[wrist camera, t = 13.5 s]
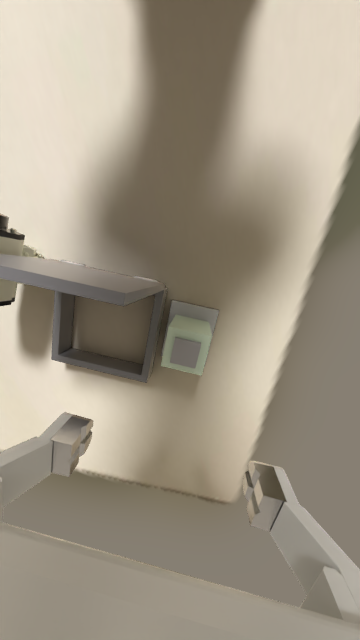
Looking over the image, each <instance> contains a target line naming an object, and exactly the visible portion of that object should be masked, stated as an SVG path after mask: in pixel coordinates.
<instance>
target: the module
mask: <svg viewBox="0 0 360 640" xmlns="http://www.w3.org/2000/svg"><path fill="white" fill-rule="evenodd" d="M211 339H212V334H211V329H210V324H209V322H207V321H203V320H198V319H194V318H190V317H185V316H181V315H175V317H174V318H173V320H172V322H171V323H170V325H169V327H168V332H167V337H166V342H165V347H164V352H163V357H162V362H161V366H163V367H167V368H171V369H175V370H179V371H184V372H188V373H192V374H196V375H200V376H202V373H203V369H204V365H205V362H206V358H207V354H208V350H209V346H210V343H211Z"/></svg>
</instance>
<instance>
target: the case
mask: <svg viewBox="0 0 360 640" xmlns="http://www.w3.org/2000/svg"><path fill="white" fill-rule="evenodd" d="M0 278H1V279H6V280H10V281H14V282H19V283H23V284H28V285H32V286H37V287H41V288H45V289H50V290H54V291H55V299H54V319H53V339H52V359H51V360H55V361H59V362H63V363H67V364H71V365H76V366H80V367H84V368H88V369H92V370H96V371H100V372H104V373H108V374H112V375H117V376H121V377H125V378H129V379H133V380H137V381H141V382H145V383H147V381H148V379H149V377H150V375H151V373H152V368H153V363H154V358H155V353H156V347H157V342H158V337H159V332H160V326H161V321H162V316H163V311H164V305H165V300H166V295H167V290H168V288H165V284H164V283H159V282H158V281H157V280H152V279H148V278H143V277H139V276H135V277H132V276H127V275H123V274H118V273H114V272H109V271H105V270H100V269H95V268H91V267H86V265H84V264H79V263H75V262H70V261H65V260H61V261H59V260H52V259H43V258H33V257H24V256H15V255H6V254H0ZM75 295H76V296H81V297H85V298H90V299H94V300H98V301H103V302H107V303H112V304H116V305H120V306H125V305H128V304H130V303H133V302H135V301H138V300H140V299H143V298H145V297H148V296H150V295H155V301H154V307H153V312H152V318H151V323H150V329H149V335H148V340H147V346H146V352H145V357H144V363H143V365H140V364H136V363H132V362H127V361H123V360H119V359H115V358H111V357H107V356H102V355H98V354H94V353H90V352H86V351H82V350H77V349H73V348H71V339H72V326H73V313H74V300H75Z"/></svg>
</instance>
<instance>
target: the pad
mask: <svg viewBox="0 0 360 640" xmlns="http://www.w3.org/2000/svg"><path fill="white" fill-rule="evenodd" d="M218 313H219V310H216V309H211V308H207V307H202V306H198V305H193V304H189V303H184V302H180V301H175V300H172V303H171V308H170V313H169V318H168V323H167V328H166V333H165V338H164V343H163V348H162V353H161V356H163V352H164V347H165V342H166V337H167V332H168V327H169V325H170V323H171V322H172V320H173V318H174V317H175V315H181V316H185V317H190V318H194V319H198V320H203V321H207V322H209V324H210V329H211V334H212V336H213V333H214V329H215V325H216V321H217V317H218ZM211 340H212V339H211ZM210 344H211V343H210ZM209 348H210V346H209ZM208 352H209V350H208ZM207 355H208V354H207ZM206 359H207V358H206ZM205 363H206V362H205ZM204 366H205V365H204Z"/></svg>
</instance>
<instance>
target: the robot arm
mask: <svg viewBox="0 0 360 640" xmlns="http://www.w3.org/2000/svg"><path fill="white" fill-rule="evenodd" d="M92 427H93V420H91V419H88V418H84V417H81V416H77V415H73V414H70V413H66V412H65V413H63V414H61V415H60V416H59V417H58V418H57V419H56V420H55V421H54V422H53V423H52V424H51V425H50V426H49V427H48V428H47V429H46V430H45V431H44V433H43V434H42V435H41V436H40V437H34V438H31V439H29V440H27V441H25V442H22V443H20V444H18V445H16V446H13V447H11V448H9V449H7V450H4V451H2V452H0V640H360V570H359V568H358V567H357V566H356V565H355V564H354V563H353V562H352V561H351V560H350V558H349V557H348V556H347V555H346V554H345V553H344V552H343V551H342V550H341V548H340V547H339V546H338V545H337V544H336V543H335V542H334V541H333V539H332V538H331V537H329V535H328V534H327V533H326V532H325V531H324V529H323V528H322V527H321V526H320V525H319V524H318V523H317V522H316V521H315V520H314V518H313V517H312V516H311V515H310V514H309V513H308V512H307V511H306V510H305V508H304V507H302V506H300V505H299V503H298V500H297V498H296V496H295V494H294V491H293V489H292V487H291V485H290V482H289V480H288V478H287V475H286V473H285V471H284V469H283V468H281V467H277V466H273V465H269V464H265V463H261V462H257V461H253V460H251V461H250V462H249V464H248V469H249V471H247V472H245V475H244V478H243V492H244V496H245V498H246V500H247V501H248V506H247V512H248V517H249V522H250V526H253V527H256V528H259V529H262V530H266V531H269V532H270V534H271V536H272V538H273V540H274V541H275V543H276V545H277V546H278V548H279V550H280V551H281V553H282V554H283V556H284V558H285V560H286V561H287V563H288V565H289V566H290V568H291V570H292V571H293V573H294V574H295V576H296V578H297V580H298V581H299V583H300V585H301V586H302V588H303V590H304V591H305V593H306V595H307V596H306V597H305V599H304V601H303V602H302V604H301V606H300V607H296V606H293V605H289V604H285V603H282V602H279V601H275V600H272V599H268V598H265V597H261V596H258V595H254V594H251V593H247V592H243V591H240V590H237V589H233V588H229V587H226V586H223V585H219V584H216V583H212V582H209V581H205V580H201V579H198V578H195V577H191V576H188V575H184V574H181V573H178V572H174V571H171V570H167V569H164V568H160V567H156V566H153V565H150V564H146V563H142V562H139V561H135V560H132V559H129V558H125V557H121V556H118V555H114V554H110V553H107V552H104V551H101V550H97V549H94V548H90V547H86V546H83V545H80V544H76V543H73V542H69V541H66V540H62V539H59V538H55V537H51V536H48V535H45V534H41V533H38V532H34V531H30V530H27V529H24V528H20V527H16V526H13V525H10V524H6V523H3V508H4V507H5V506H6V505H8V504H9V503H10V502H12V501H13V500H15V499H16V498H18V497H19V496H21V495H22V494H23V493H25V492H26V491H28V490H29V489H30V488H32V487H33V486H35V485H36V484H38V483H39V482H40V481H42V480H43V479H44V478H46V477H47V476H49V475H50V474H51V473H56V474H60V475H64V476H68V477H69V476H70V474H71V473H72V472H73V470H74V469H75V467H76V466H77V464H78V461H79V457H80V456H82V455H83V454H84V453H85V452H86V450H87V448H88V446H89V444H90V441H91V438H92V432H91V428H92Z"/></svg>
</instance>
